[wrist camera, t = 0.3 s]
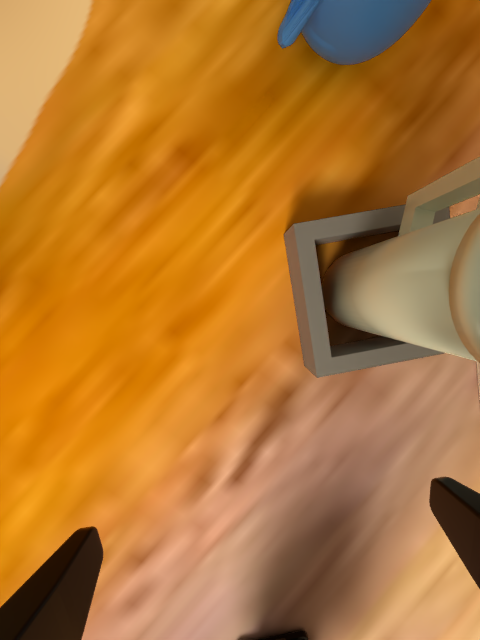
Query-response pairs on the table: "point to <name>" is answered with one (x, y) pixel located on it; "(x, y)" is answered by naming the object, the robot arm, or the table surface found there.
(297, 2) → the blue mole toy
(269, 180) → the table surface
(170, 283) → the table surface
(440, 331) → the grey domed cup
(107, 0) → the table surface
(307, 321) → the holder
